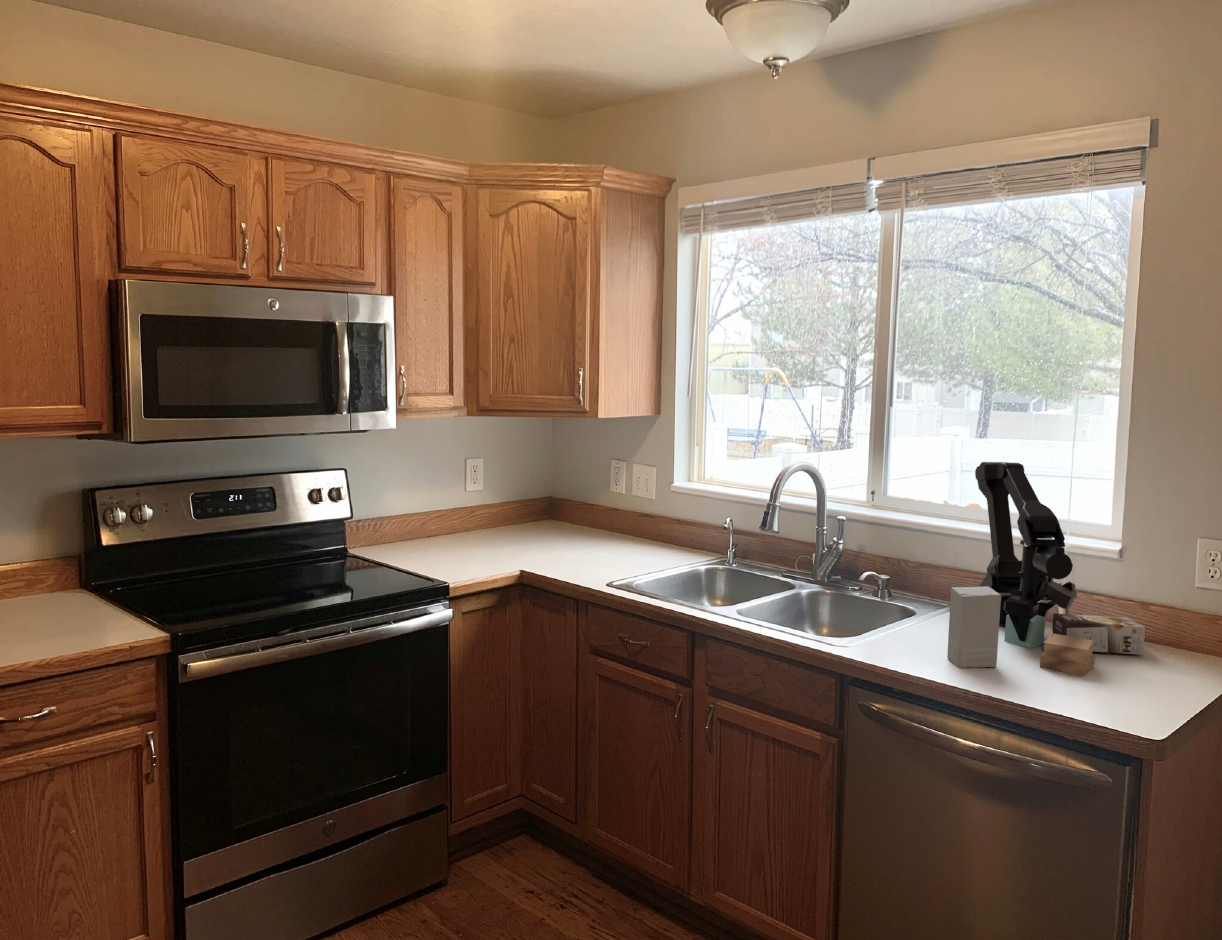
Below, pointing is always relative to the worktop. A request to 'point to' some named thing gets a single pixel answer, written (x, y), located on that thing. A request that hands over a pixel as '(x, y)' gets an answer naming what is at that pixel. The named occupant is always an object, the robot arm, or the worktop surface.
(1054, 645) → the tower top
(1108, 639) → the coffee box
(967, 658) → the skincare box
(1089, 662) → the tower base
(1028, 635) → the teal cube
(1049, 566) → the robot arm
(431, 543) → the worktop surface
